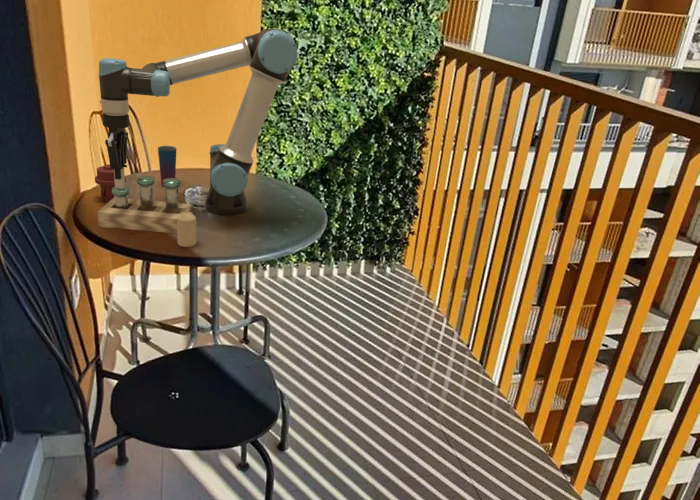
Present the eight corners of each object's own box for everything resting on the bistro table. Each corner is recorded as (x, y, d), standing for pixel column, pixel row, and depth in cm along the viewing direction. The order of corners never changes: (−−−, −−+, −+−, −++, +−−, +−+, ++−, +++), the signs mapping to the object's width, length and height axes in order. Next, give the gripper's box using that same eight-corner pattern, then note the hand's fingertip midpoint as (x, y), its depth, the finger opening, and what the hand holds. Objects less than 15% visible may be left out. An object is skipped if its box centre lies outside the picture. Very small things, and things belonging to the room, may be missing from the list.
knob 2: (182, 203, 177) (181, 179, 174) (178, 209, 172) (177, 183, 169) (166, 202, 177) (165, 177, 173) (161, 207, 172) (160, 182, 168)
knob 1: (133, 211, 178) (131, 186, 174) (127, 217, 173) (126, 191, 169) (117, 210, 177) (115, 185, 174) (111, 215, 172) (109, 190, 169)
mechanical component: (132, 197, 195) (116, 206, 186) (107, 193, 197) (90, 201, 188) (130, 164, 190) (114, 171, 181) (105, 160, 192) (87, 167, 183)
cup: (174, 189, 209) (173, 151, 203) (156, 187, 209) (155, 149, 202) (179, 183, 215) (178, 146, 209) (162, 182, 215) (161, 144, 209)
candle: (186, 248, 161) (185, 217, 157) (173, 243, 164) (172, 212, 160) (200, 243, 166) (199, 213, 162) (187, 238, 168) (186, 208, 164)
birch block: (193, 218, 184) (192, 204, 182) (182, 233, 171) (182, 219, 169) (115, 211, 182) (114, 197, 180) (98, 226, 169) (97, 211, 167)
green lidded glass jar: (157, 201, 176) (156, 176, 173) (152, 207, 172) (151, 181, 168) (141, 200, 176) (140, 175, 173) (136, 205, 171) (134, 179, 168)
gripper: (110, 108, 168) (115, 180, 177) (93, 115, 156) (100, 193, 165) (135, 110, 168) (138, 183, 178) (120, 118, 156) (125, 195, 166)
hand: (120, 187), depth 171 cm, fingers closed
